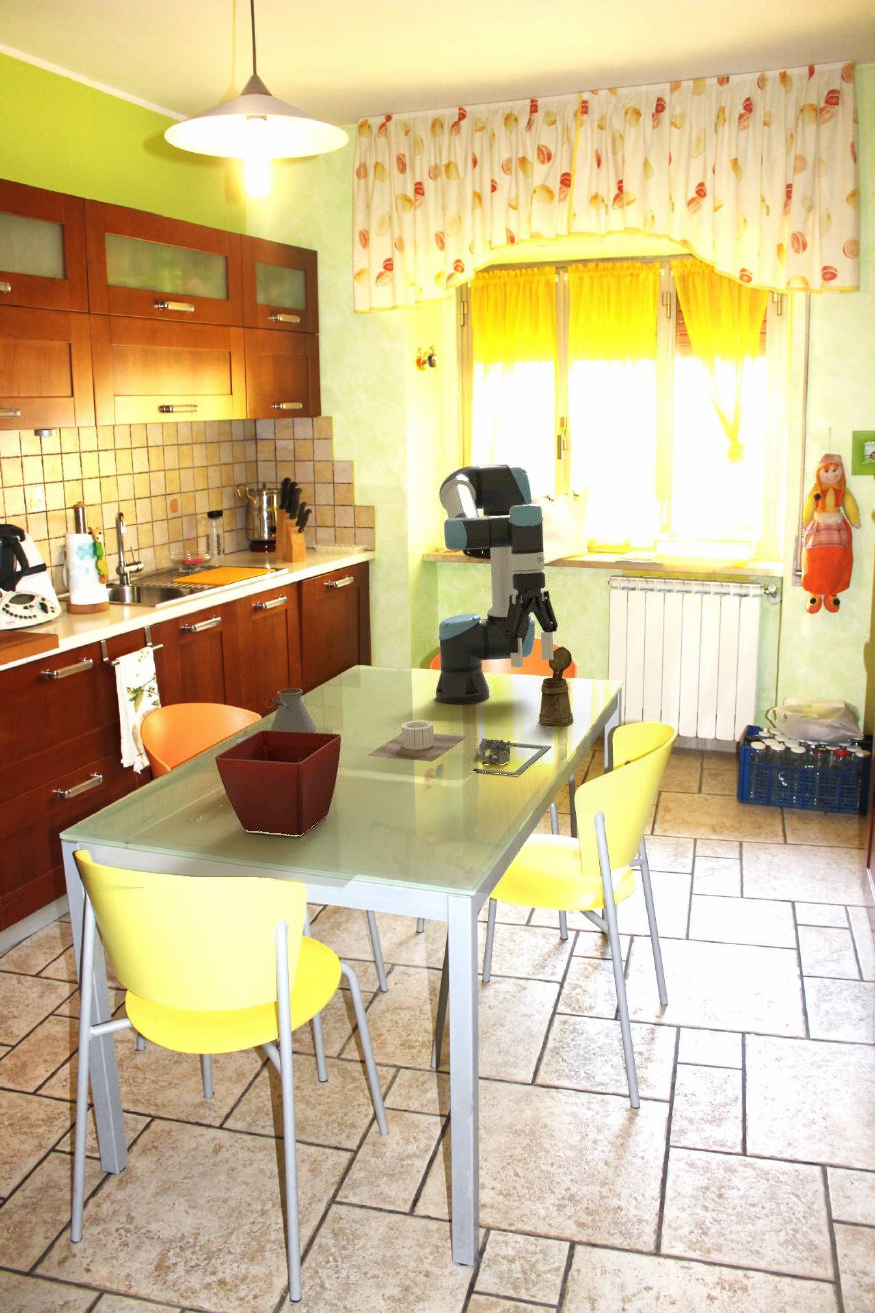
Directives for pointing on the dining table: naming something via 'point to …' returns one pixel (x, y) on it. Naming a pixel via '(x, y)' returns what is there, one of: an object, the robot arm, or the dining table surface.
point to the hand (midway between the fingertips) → (532, 663)
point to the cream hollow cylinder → (417, 735)
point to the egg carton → (495, 747)
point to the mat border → (525, 765)
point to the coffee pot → (291, 712)
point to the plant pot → (281, 779)
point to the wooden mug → (556, 692)
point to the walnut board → (397, 750)
